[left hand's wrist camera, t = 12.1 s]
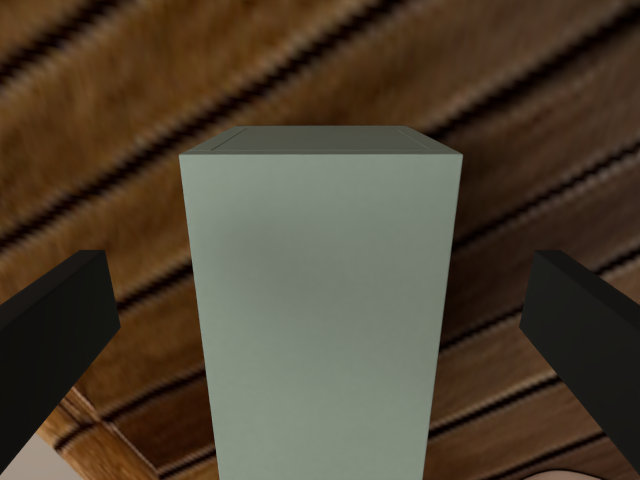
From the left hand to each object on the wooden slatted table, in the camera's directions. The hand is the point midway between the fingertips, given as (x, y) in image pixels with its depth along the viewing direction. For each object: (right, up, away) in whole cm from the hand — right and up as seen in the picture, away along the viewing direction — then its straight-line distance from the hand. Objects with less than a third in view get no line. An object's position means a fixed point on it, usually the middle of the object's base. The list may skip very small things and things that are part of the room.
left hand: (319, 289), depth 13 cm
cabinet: (0, 0, +19) cm, 19 cm away
